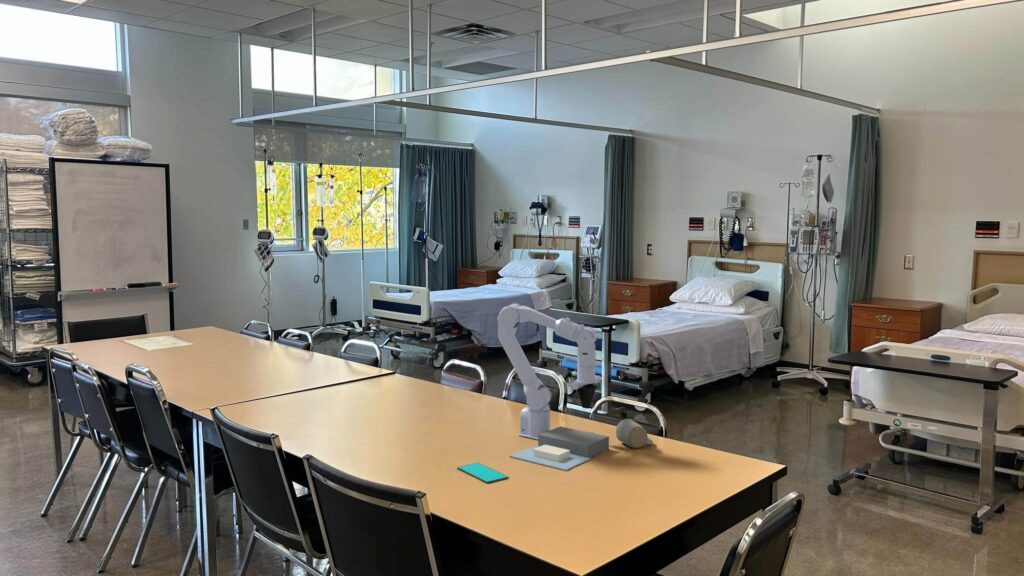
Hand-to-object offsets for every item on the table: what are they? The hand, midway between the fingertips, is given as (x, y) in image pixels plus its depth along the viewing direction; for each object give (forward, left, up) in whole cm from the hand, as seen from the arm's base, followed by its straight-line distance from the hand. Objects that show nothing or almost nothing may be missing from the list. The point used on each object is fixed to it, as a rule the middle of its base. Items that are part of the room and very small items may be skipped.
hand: (586, 407), depth 237 cm
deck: (+2, -10, -10) cm, 15 cm away
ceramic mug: (+15, +5, -11) cm, 19 cm away
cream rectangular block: (+2, -22, -8) cm, 23 cm away
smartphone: (-5, -45, -11) cm, 47 cm away
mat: (+2, -23, -10) cm, 25 cm away
